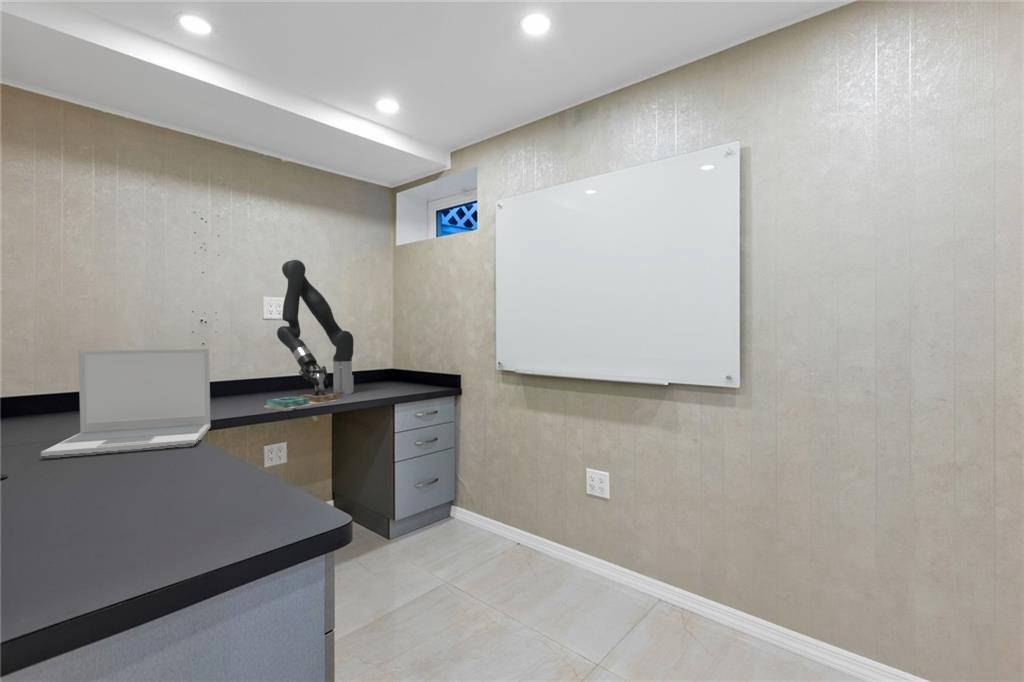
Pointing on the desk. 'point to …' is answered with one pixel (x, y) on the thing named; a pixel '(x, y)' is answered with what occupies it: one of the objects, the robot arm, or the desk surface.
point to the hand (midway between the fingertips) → (322, 384)
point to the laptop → (140, 400)
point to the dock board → (299, 401)
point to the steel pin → (320, 377)
